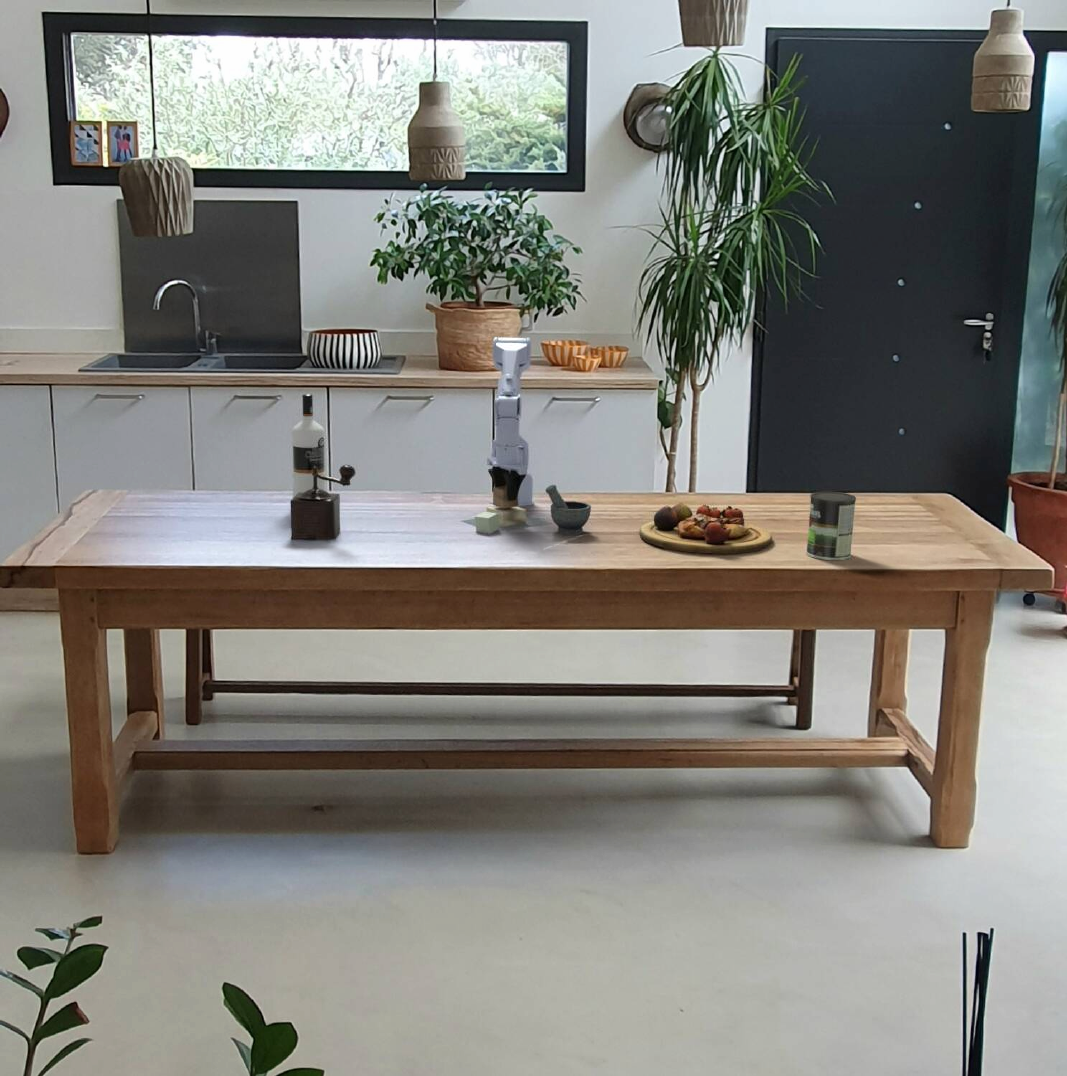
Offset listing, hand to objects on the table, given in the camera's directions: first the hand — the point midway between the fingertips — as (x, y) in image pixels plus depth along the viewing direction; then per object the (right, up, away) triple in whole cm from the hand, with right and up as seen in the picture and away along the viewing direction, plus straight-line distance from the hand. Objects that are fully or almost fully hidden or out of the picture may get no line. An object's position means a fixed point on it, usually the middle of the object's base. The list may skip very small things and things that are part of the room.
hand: (506, 498), depth 336 cm
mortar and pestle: (+15, -9, -7) cm, 19 cm away
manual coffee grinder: (-43, -10, -14) cm, 46 cm away
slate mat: (0, -6, +2) cm, 6 cm away
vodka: (-51, -3, +11) cm, 52 cm away
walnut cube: (0, -2, 0) cm, 2 cm away
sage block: (-4, -8, -8) cm, 12 cm away
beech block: (0, -6, +2) cm, 6 cm away
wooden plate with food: (+48, -11, -9) cm, 50 cm away
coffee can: (+75, -14, -22) cm, 80 cm away
